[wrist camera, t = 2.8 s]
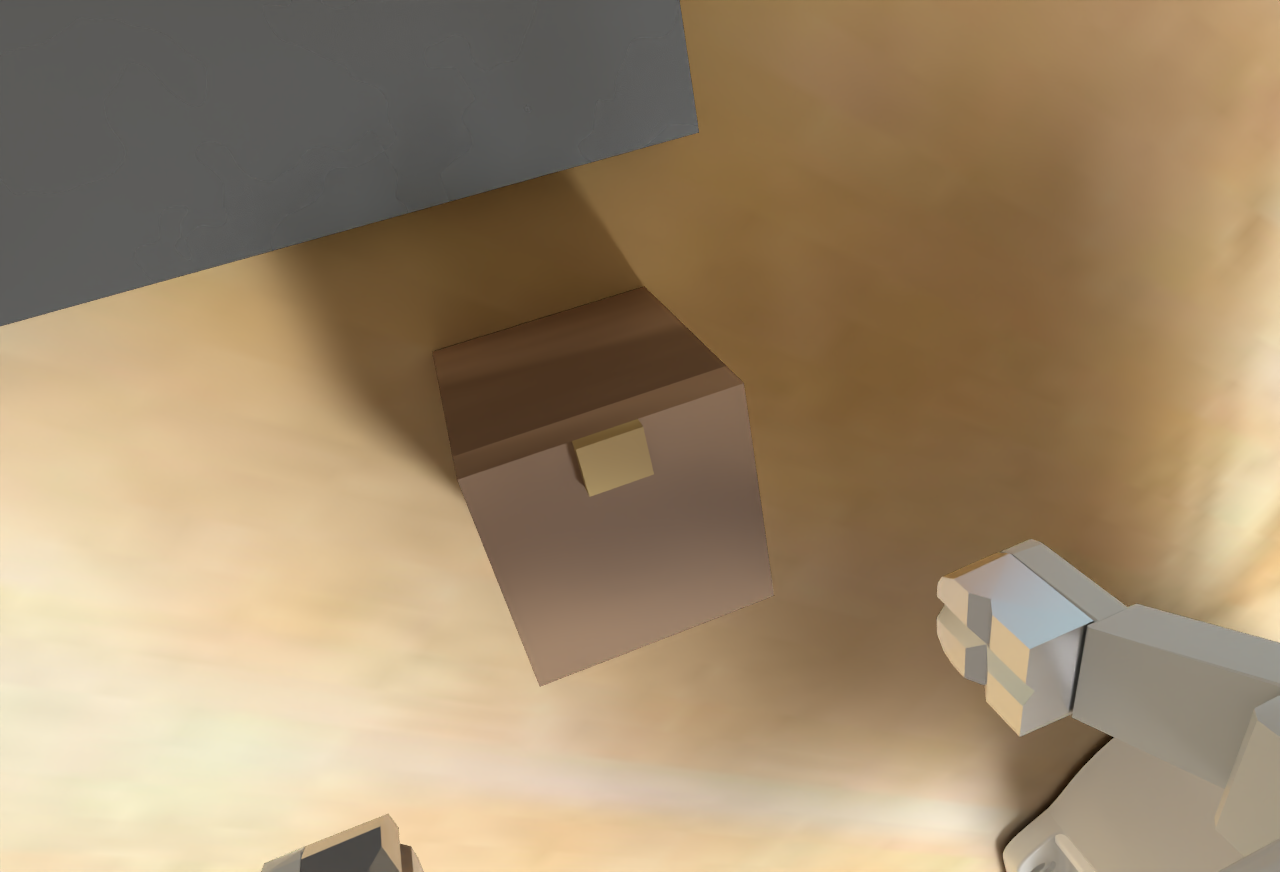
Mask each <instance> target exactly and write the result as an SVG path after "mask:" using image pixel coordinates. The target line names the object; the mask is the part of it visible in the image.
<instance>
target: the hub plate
mask: <svg viewBox="0 0 1280 872" xmlns="http://www.w3.org/2000/svg"><path fill="white" fill-rule="evenodd" d="M695 133H699V129H698V122H697V115H696V108H695V102H694V95H693V88H692V81H691V75H690V68H689V61H688V54H687V48H686V41H685V34H684V28H683V21H682V14H681V7H680V1H679V0H0V326H3V325H7V324H10V323H14V322H17V321H21V320H25V319H28V318H32V317H36V316H39V315H43V314H46V313H50V312H54V311H57V310H61V309H64V308H68V307H72V306H75V305H79V304H82V303H86V302H90V301H93V300H97V299H100V298H104V297H108V296H111V295H115V294H118V293H122V292H126V291H129V290H133V289H136V288H140V287H144V286H147V285H151V284H154V283H158V282H162V281H165V280H169V279H173V278H176V277H180V276H183V275H187V274H191V273H194V272H198V271H201V270H205V269H209V268H212V267H216V266H219V265H223V264H227V263H230V262H234V261H237V260H241V259H245V258H248V257H252V256H255V255H259V254H263V253H266V252H270V251H273V250H277V249H281V248H284V247H288V246H291V245H295V244H299V243H302V242H306V241H310V240H313V239H317V238H320V237H324V236H328V235H331V234H335V233H338V232H342V231H346V230H349V229H353V228H356V227H360V226H364V225H367V224H371V223H374V222H378V221H382V220H385V219H389V218H392V217H396V216H400V215H403V214H407V213H410V212H414V211H418V210H421V209H425V208H428V207H432V206H436V205H439V204H443V203H446V202H450V201H454V200H457V199H461V198H465V197H468V196H472V195H475V194H479V193H483V192H486V191H490V190H493V189H497V188H501V187H504V186H508V185H511V184H515V183H519V182H522V181H526V180H529V179H533V178H537V177H540V176H544V175H547V174H551V173H555V172H558V171H562V170H565V169H569V168H573V167H576V166H580V165H583V164H587V163H591V162H594V161H598V160H602V159H605V158H609V157H612V156H616V155H620V154H623V153H627V152H630V151H634V150H638V149H641V148H645V147H648V146H652V145H656V144H659V143H663V142H666V141H670V140H674V139H677V138H681V137H684V136H688V135H692V134H695Z"/></svg>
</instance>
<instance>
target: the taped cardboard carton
mask: <svg viewBox="0 0 1280 872" xmlns="http://www.w3.org/2000/svg"><path fill="white" fill-rule="evenodd" d="M433 357H434V362H435V367H436V372H437V378H438V383H439V388H440V393H441V398H442V404H443V409H444V414H445V419H446V424H447V430H448V435H449V440H450V445H451V450H452V456H453V461H454V466H455V471H456V476H457V481H458V483H459V486H460V488H461V491H462V493H463V496H464V498H465V501H466V503H467V506H468V508H469V511H470V513H471V516H472V518H473V521H474V523H475V526H476V528H477V531H478V533H479V536H480V538H481V541H482V543H483V546H484V548H485V551H486V553H487V556H488V558H489V561H490V563H491V566H492V568H493V571H494V573H495V576H496V578H497V581H498V583H499V586H500V588H501V591H502V593H503V596H504V598H505V601H506V603H507V606H508V608H509V611H510V613H511V616H512V618H513V621H514V623H515V626H516V628H517V631H518V633H519V636H520V638H521V641H522V643H523V646H524V648H525V651H526V653H527V656H528V658H529V661H530V663H531V666H532V668H533V671H534V673H535V676H536V678H537V681H538V683H539V686H543V685H545V684H548V683H551V682H553V681H556V680H558V679H561V678H563V677H566V676H569V675H571V674H574V673H576V672H579V671H581V670H584V669H587V668H589V667H592V666H594V665H597V664H599V663H602V662H605V661H607V660H610V659H612V658H615V657H618V656H620V655H623V654H625V653H628V652H630V651H633V650H636V649H638V648H641V647H643V646H646V645H648V644H651V643H654V642H656V641H659V640H661V639H664V638H667V637H669V636H672V635H674V634H677V633H679V632H682V631H685V630H687V629H690V628H692V627H695V626H697V625H700V624H703V623H705V622H708V621H710V620H713V619H715V618H718V617H721V616H723V615H726V614H728V613H731V612H734V611H736V610H739V609H741V608H744V607H746V606H749V605H752V604H754V603H757V602H759V601H762V600H764V599H767V598H770V597H772V596H774V591H773V584H772V577H771V570H770V563H769V556H768V549H767V542H766V535H765V528H764V521H763V514H762V507H761V500H760V493H759V486H758V479H757V472H756V465H755V458H754V451H753V444H752V436H751V429H750V422H749V415H748V408H747V401H746V394H745V387H744V383H743V382H742V381H741V380H740V379H739V378H738V377H737V376H736V375H735V374H734V373H733V372H732V371H731V370H730V369H729V368H728V367H727V366H726V365H725V364H724V363H723V362H722V361H721V360H719V359H718V358H717V357H716V356H715V355H714V354H713V353H712V352H711V351H710V350H709V349H708V348H707V347H706V346H705V345H704V344H703V343H702V342H701V341H700V340H699V339H698V338H697V337H696V336H695V335H694V334H693V333H692V332H691V331H690V330H689V329H688V328H687V327H685V326H684V325H683V324H682V323H681V322H680V321H679V320H678V319H677V318H676V317H675V316H674V315H673V314H672V313H671V312H670V311H669V310H668V309H667V308H666V307H665V306H664V305H663V304H662V303H661V302H660V301H659V300H658V299H657V298H656V297H655V296H654V295H653V294H651V293H650V292H649V291H648V290H647V289H646V288H645V287H641V288H638V289H635V290H632V291H628V292H625V293H622V294H619V295H615V296H612V297H609V298H606V299H602V300H599V301H596V302H593V303H589V304H586V305H583V306H580V307H576V308H573V309H570V310H567V311H563V312H560V313H557V314H554V315H551V316H547V317H544V318H541V319H538V320H534V321H531V322H528V323H525V324H521V325H518V326H515V327H512V328H508V329H505V330H502V331H499V332H495V333H492V334H489V335H486V336H482V337H479V338H476V339H473V340H469V341H466V342H463V343H460V344H456V345H453V346H450V347H447V348H443V349H440V350H437V351H434V352H433Z"/></svg>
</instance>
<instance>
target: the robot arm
mask: <svg viewBox="0 0 1280 872" xmlns="http://www.w3.org/2000/svg"><path fill="white" fill-rule="evenodd" d="M937 597H938V598H939V599H940V600H941V601H942V602H943V603H944V604H945V605H944V607H943V608H942V610H941V612H940V613H939V615H938V616H937V618H936V619H937V636H938V638H939V641H940V643H941V646H942V649H943V651H944V653H945V654H946V656H947V657H948V659H949V660H950V662H951V663H952V665H953V666H954V667H955V668H956V669H957V670H958V672H959V673H960V674H961V675H962V676H963V677H964V678H966V679H968V680H971V681H974V682H977V683H979V684H982V685H984V688H985V698H986V702H987V703H988V704H989V705H990V706H991V707H992V708H993V709H994V710H995V711H996V713H997V714H998V715H999V716H1000V717H1001V718H1002V719H1003V720H1004V721H1005V722H1006V723H1007V724H1008V725H1009V726H1010V727H1011V728H1012V729H1013V731H1014V732H1015V733H1016V734H1017V735H1018V736H1019V737H1021V736H1023V735H1025V734H1028V733H1030V732H1032V731H1034V730H1037V729H1039V728H1041V727H1044V726H1046V725H1048V724H1050V723H1053V722H1055V721H1057V720H1059V719H1062V718H1064V717H1066V716H1069V715H1071V714H1072V718H1074V719H1076V720H1078V721H1080V722H1082V723H1085V724H1087V725H1089V726H1091V727H1093V728H1095V729H1097V730H1099V731H1102V732H1104V733H1106V734H1108V735H1110V736H1112V737H1114V738H1113V739H1112V740H1111V741H1109V742H1108V743H1107V744H1106V745H1105V746H1104V747H1103V748H1102V749H1100V750H1099V751H1098V752H1097V753H1096V754H1095V755H1094V756H1093V757H1092V758H1091V759H1090V760H1089V761H1088V762H1087V763H1086V764H1085V765H1084V766H1083V768H1082V769H1081V770H1080V771H1079V772H1078V773H1077V774H1076V775H1075V777H1074V778H1073V779H1072V780H1071V781H1070V783H1069V784H1068V785H1067V786H1066V788H1065V789H1064V790H1063V791H1062V793H1061V794H1060V795H1059V796H1058V798H1057V799H1056V800H1055V801H1054V802H1053V803H1052V804H1051V806H1050V807H1049V808H1048V809H1047V810H1046V811H1044V812H1043V813H1042V814H1041V815H1039V816H1038V817H1037V818H1036V819H1035V820H1033V821H1032V822H1031V823H1030V824H1029V825H1027V826H1026V827H1025V828H1024V829H1023V830H1022V831H1021V832H1019V833H1018V834H1017V835H1016V836H1015V837H1014V838H1013V839H1012V840H1011V841H1010V842H1009V844H1008V845H1007V846H1006V848H1005V849H1004V852H1003V860H1004V864H1005V868H1006V872H1280V643H1279V642H1275V641H1271V640H1268V639H1264V638H1260V637H1257V636H1253V635H1249V634H1246V633H1242V632H1238V631H1235V630H1231V629H1227V628H1224V627H1220V626H1216V625H1213V624H1209V623H1205V622H1202V621H1198V620H1195V619H1191V618H1187V617H1184V616H1180V615H1176V614H1173V613H1169V612H1165V611H1162V610H1158V609H1154V608H1151V607H1147V606H1143V605H1140V604H1134V605H1132V606H1129V607H1127V606H1125V605H1124V604H1123V603H1121V602H1120V601H1119V600H1117V599H1116V598H1115V597H1113V596H1112V595H1111V594H1109V593H1108V592H1107V591H1105V590H1104V589H1103V588H1101V587H1100V586H1099V585H1097V584H1096V583H1095V582H1093V581H1092V580H1091V579H1089V578H1088V577H1087V576H1085V575H1084V574H1083V573H1081V572H1080V571H1079V570H1077V569H1076V568H1075V567H1073V566H1072V565H1071V564H1069V563H1068V562H1067V561H1065V560H1064V559H1063V558H1061V557H1060V556H1059V555H1057V554H1056V553H1055V552H1053V551H1052V550H1051V549H1050V548H1048V547H1047V546H1046V545H1044V544H1043V543H1041V542H1039V541H1036V540H1033V539H1029V540H1027V541H1024V542H1022V543H1019V544H1017V545H1015V546H1013V547H1010V548H1008V549H1006V550H1003V551H1001V552H999V553H994V554H992V555H990V556H987V557H985V558H983V559H981V560H978V561H976V562H974V563H972V564H969V565H967V566H965V567H963V568H960V569H958V570H956V571H954V572H951V573H949V574H947V575H945V576H942V577H941V579H940V580H939V582H938V584H937ZM261 872H424V871H423V868H422V866H421V864H420V861H419V859H418V857H417V855H416V853H415V852H414V850H413V849H412V847H411V846H407V845H403V844H400V840H399V827H398V826H397V825H396V823H395V822H394V821H393V819H392V818H391V817H390V815H389V814H386V815H384V816H381V817H378V818H376V819H373V820H371V821H368V822H366V823H363V824H361V825H358V826H356V827H353V828H351V829H348V830H346V831H343V832H340V833H338V834H335V835H333V836H330V837H328V838H325V839H323V840H320V841H318V842H315V843H313V844H310V845H308V846H305V847H303V848H300V849H298V850H295V851H293V852H291V853H288V854H286V855H283V856H281V857H279V858H276V859H274V860H271V861H269V862H267V863H264V866H263V868H262V870H261Z"/></svg>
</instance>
